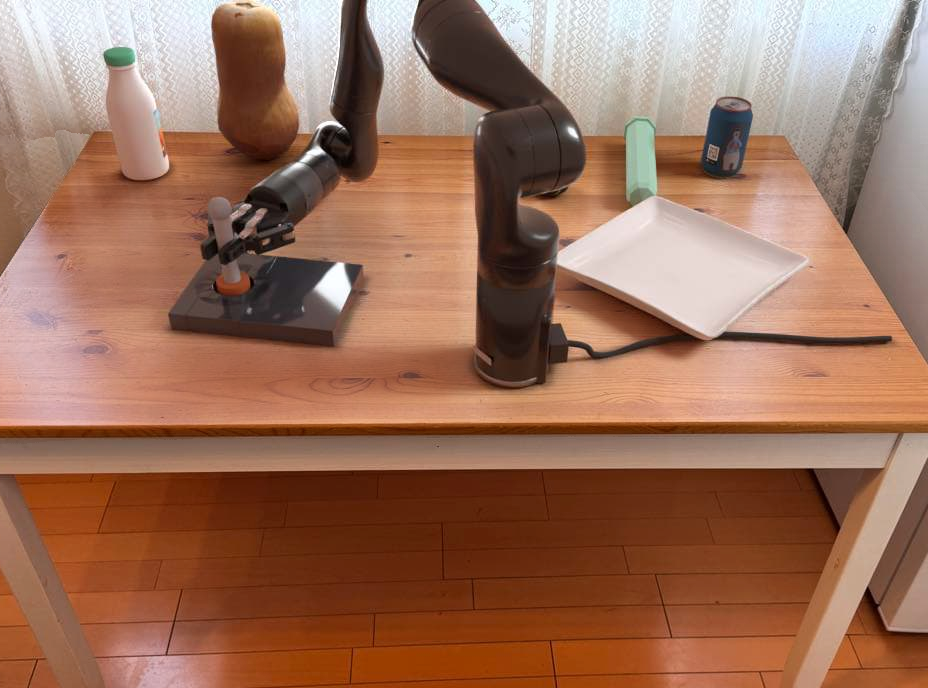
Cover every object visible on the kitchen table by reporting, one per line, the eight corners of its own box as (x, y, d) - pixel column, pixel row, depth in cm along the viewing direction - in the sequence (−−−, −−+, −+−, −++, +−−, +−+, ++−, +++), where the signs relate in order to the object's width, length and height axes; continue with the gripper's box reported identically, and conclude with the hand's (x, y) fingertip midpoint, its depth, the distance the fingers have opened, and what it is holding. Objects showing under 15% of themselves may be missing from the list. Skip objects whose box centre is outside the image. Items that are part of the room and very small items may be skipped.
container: (655, 178, 141) (651, 110, 159) (618, 189, 143) (619, 121, 161) (665, 211, 144) (660, 141, 163) (628, 220, 146) (627, 150, 165)
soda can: (715, 158, 161) (728, 91, 153) (748, 171, 157) (764, 104, 149) (691, 169, 157) (703, 102, 149) (724, 184, 153) (739, 115, 145)
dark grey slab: (364, 279, 129) (363, 264, 128) (334, 346, 117) (332, 330, 116) (215, 264, 131) (212, 249, 130) (171, 329, 119) (167, 313, 118)
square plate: (708, 361, 116) (714, 336, 114) (543, 279, 130) (544, 256, 127) (808, 277, 131) (815, 254, 129) (650, 212, 145) (654, 190, 143)
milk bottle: (163, 182, 150) (135, 60, 137) (116, 181, 150) (84, 59, 137) (175, 161, 156) (150, 42, 143) (130, 160, 156) (101, 41, 143)
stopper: (256, 291, 126) (240, 191, 116) (246, 309, 123) (228, 208, 113) (226, 288, 127) (207, 188, 117) (214, 306, 123) (194, 205, 113)
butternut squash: (314, 142, 163) (299, -5, 146) (285, 175, 153) (266, 21, 137) (242, 133, 165) (219, -13, 149) (209, 165, 155) (181, 13, 139)
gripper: (241, 163, 129) (162, 218, 117) (325, 183, 125) (253, 242, 113) (248, 211, 134) (174, 268, 122) (330, 231, 130) (261, 293, 118)
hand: (212, 256), depth 117 cm, fingers closed on stopper, 2 cm apart
